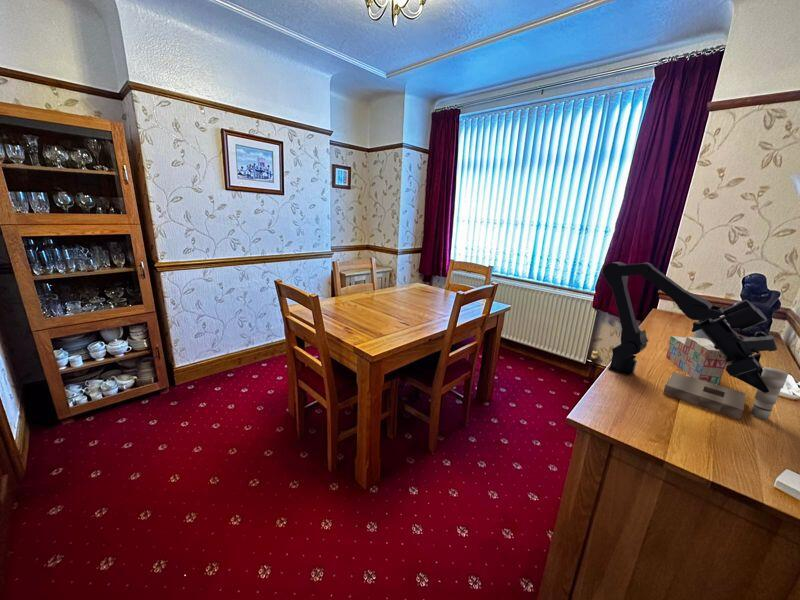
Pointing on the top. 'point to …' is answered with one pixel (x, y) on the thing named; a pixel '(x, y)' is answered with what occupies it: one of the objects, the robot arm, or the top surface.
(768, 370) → the ash peg
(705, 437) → the top surface
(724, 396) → the gray slotted board
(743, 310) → the robot arm
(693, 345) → the stack of blocks
